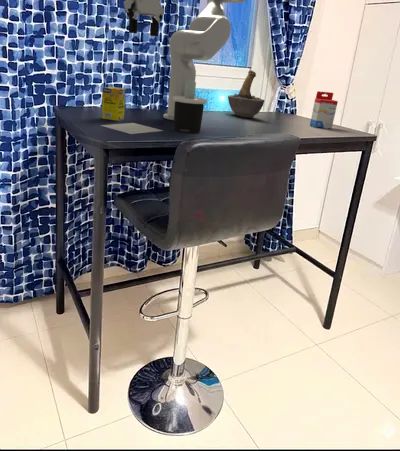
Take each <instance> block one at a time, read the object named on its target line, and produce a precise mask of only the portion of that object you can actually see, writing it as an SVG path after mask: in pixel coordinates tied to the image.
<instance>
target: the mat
mask: <svg viewBox="0 0 400 451" xmlns="http://www.w3.org/2000/svg"><path fill="white" fill-rule="evenodd" d="M100 126H101V127H105V128H108V129H111V130H115V131H119V132H122V133H126V134H128V135H135V134H136V135H137V134H147V133H156V132H164V130H163V129H159V128H156V127H151V126H149V125H144V124H140V123H135V122H129V123H128V122H126V123H116V124H115V123H114V124H113V123H112V124H101V125H100Z"/></svg>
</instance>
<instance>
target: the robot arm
mask: <svg viewBox="0 0 400 451" xmlns="http://www.w3.org/2000/svg"><path fill="white" fill-rule="evenodd" d="M246 1H247V0H206V5H205V7H204V9H203V10H201V11H200V12H199V14H198V15H197V16H195V17H194V19H193V20H192V21H191V23H190V24H189V26H188V29H181V30H180V29H179V30H177V31H175V32H173V33H172V35H171V36H170V39H169V52H170V54H169V55H170V73H169V74H170V75H169V90H168V101H167V102H168V104H167V113H164V114H163V117H162V118H164V119H167V120H171V121H174V108H175V102H176V101H173V96H185V94H186V83H187V81H191V82H196V76H197V73H196V72H197V70H196V66H195V64H194V60H195V61H204V62H206V61H208V60H210V59H212V58H214V56H215V55H216V54H217V53H218V52H220V50H221V49H222V48H223V47H224V46H225V44H227V42H228V40H229V38H230V37H231V33H232V32H231V31H232V27H231V26H232V25H231V22H230V20H229V19H228V18H227V17H226V14H225V10H224V7H223V4H241V3H245V2H246ZM123 7H124V9H125V10H124V11H125V13H126V15H127V19H128V33H129V34H138V25H139V24H138V19H137V17H138V16H139V15H141V16H149V18H150V21H151V22H150V24H149V27H150V30H149V36H151V37H159V29H160V28H159V27H160V24H161V20H163V16H164V14H165V9H164V8H163V6H162V5H161V0H124V1H123Z"/></svg>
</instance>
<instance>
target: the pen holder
mask: <svg viewBox="0 0 400 451" xmlns="http://www.w3.org/2000/svg"><path fill="white" fill-rule="evenodd" d="M204 105H205V104H191V103H183V102H177V101H176V102H175V108H174V120H173V131H174V132H178V133H183V134H200V132H201V128H202V123H203V121H202V120H203V113H204V108H205V106H204Z"/></svg>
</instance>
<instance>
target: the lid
mask: <svg viewBox="0 0 400 451" xmlns="http://www.w3.org/2000/svg"><path fill="white" fill-rule="evenodd" d="M196 86H197V82H196V81H195V82H191V81H187V83H186V94H185V96H173V101H177V102H183V103H191V104H204V105H207V104H208V101H207V99H206V98H202V97H197V96H196V89H197V88H196Z"/></svg>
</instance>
